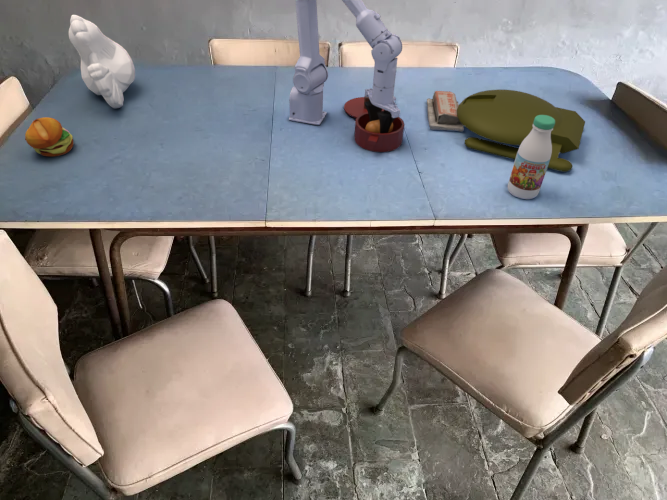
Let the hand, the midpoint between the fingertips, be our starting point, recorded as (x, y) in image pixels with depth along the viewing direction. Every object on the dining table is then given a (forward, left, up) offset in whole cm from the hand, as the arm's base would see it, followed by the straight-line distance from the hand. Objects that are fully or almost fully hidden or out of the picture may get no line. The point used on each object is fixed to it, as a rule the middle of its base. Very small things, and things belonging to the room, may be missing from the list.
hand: (379, 130), depth 153 cm
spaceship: (+37, +16, -3) cm, 40 cm away
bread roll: (0, 0, -1) cm, 1 cm away
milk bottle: (+40, -13, -3) cm, 42 cm away
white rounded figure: (-84, -3, -3) cm, 84 cm away
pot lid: (-7, +16, -2) cm, 18 cm away
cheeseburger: (-80, -34, -3) cm, 87 cm away
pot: (0, 0, -3) cm, 3 cm away
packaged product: (+16, +20, -3) cm, 26 cm away
